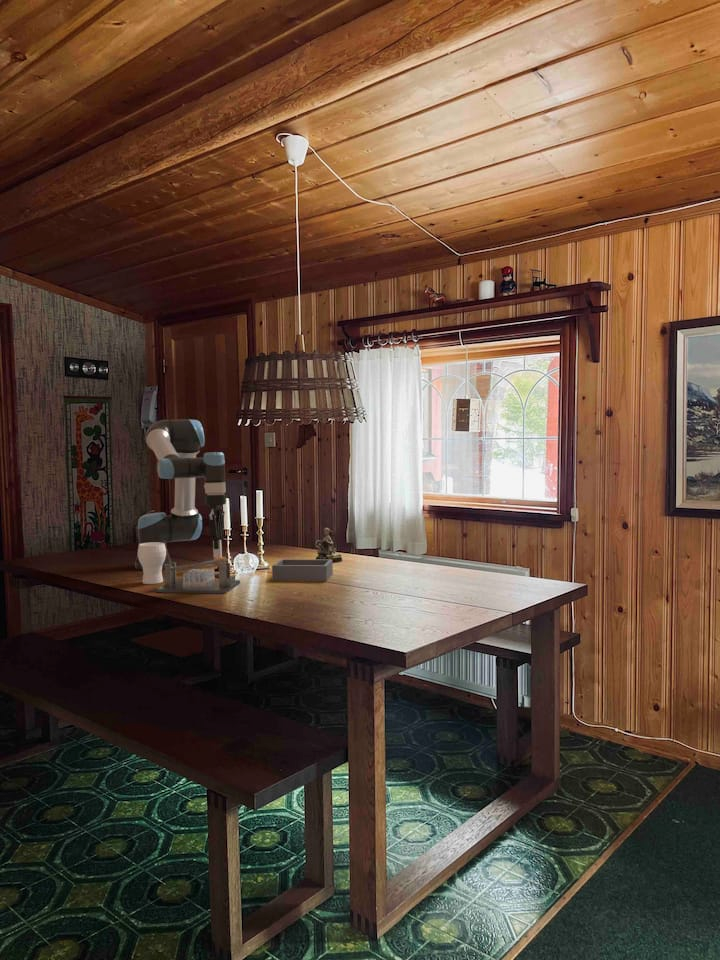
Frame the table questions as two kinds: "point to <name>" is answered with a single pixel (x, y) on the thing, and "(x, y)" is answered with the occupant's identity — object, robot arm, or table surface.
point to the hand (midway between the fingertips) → (217, 557)
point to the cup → (152, 561)
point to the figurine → (327, 548)
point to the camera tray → (302, 570)
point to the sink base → (196, 590)
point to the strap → (200, 563)
